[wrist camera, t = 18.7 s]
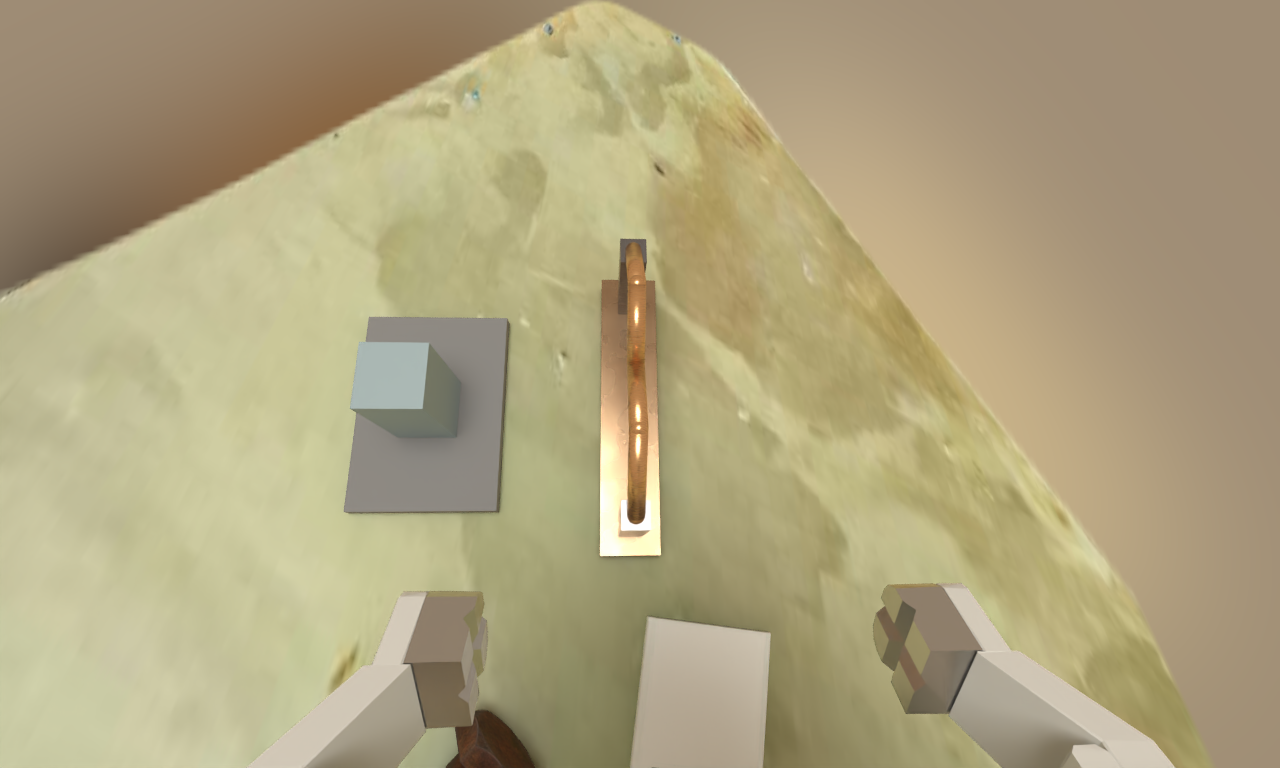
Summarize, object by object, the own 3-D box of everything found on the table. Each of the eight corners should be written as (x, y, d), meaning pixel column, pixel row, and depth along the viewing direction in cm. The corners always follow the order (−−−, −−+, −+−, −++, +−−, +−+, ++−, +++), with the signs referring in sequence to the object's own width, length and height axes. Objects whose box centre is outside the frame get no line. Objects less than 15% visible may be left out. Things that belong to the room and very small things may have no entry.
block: (456, 437, 41) (422, 408, 33) (397, 437, 41) (349, 408, 33) (461, 382, 42) (429, 342, 35) (403, 382, 42) (358, 341, 34)
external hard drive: (765, 630, 40) (752, 846, 37) (646, 614, 40) (620, 829, 36) (772, 633, 39) (759, 858, 35) (647, 616, 38) (621, 841, 35)
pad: (498, 511, 41) (496, 510, 40) (349, 513, 40) (343, 511, 39) (509, 323, 45) (507, 318, 44) (374, 322, 44) (369, 316, 43)
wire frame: (658, 555, 41) (683, 551, 28) (600, 556, 40) (597, 552, 27) (653, 289, 46) (671, 183, 33) (602, 288, 46) (600, 182, 33)
